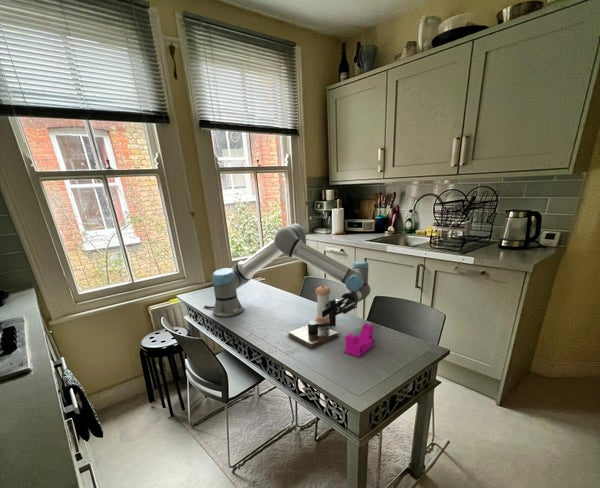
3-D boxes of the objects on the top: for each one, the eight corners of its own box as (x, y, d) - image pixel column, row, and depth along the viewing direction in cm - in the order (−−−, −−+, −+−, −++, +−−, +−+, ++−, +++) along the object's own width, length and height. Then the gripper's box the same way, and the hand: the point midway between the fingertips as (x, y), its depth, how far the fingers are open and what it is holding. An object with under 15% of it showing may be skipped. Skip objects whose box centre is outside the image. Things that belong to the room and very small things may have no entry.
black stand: (308, 334, 142) (307, 303, 136) (307, 330, 146) (306, 300, 140) (336, 332, 142) (336, 301, 136) (335, 328, 146) (334, 298, 140)
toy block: (358, 356, 126) (358, 340, 123) (345, 352, 130) (345, 335, 127) (377, 342, 136) (378, 327, 133) (364, 338, 140) (365, 323, 137)
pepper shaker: (333, 321, 158) (333, 285, 150) (324, 326, 153) (323, 289, 145) (322, 318, 162) (321, 282, 154) (313, 322, 158) (312, 286, 150)
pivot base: (288, 336, 146) (288, 331, 145) (314, 325, 155) (314, 321, 154) (311, 348, 134) (311, 343, 133) (338, 336, 143) (338, 332, 142)
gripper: (366, 308, 150) (342, 326, 133) (336, 302, 159) (311, 319, 142) (366, 293, 147) (342, 310, 130) (336, 288, 156) (310, 303, 139)
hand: (326, 315), depth 136 cm, fingers closed on black stand, 3 cm apart
